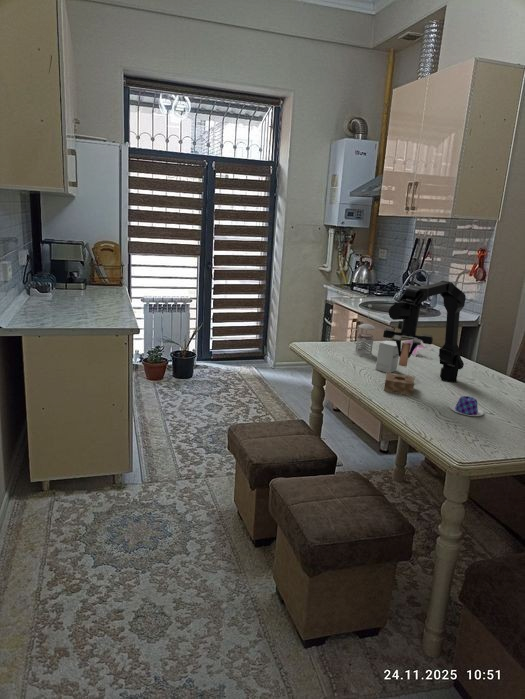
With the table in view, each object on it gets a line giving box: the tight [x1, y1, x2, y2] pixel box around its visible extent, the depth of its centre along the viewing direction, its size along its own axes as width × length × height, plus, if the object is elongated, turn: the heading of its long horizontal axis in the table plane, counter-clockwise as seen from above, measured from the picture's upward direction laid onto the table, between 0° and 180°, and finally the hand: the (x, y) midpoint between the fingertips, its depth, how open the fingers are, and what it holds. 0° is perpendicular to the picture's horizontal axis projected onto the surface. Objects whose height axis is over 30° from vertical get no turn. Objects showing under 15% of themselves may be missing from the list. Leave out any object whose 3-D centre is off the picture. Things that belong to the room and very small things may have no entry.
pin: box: [398, 342, 411, 367], centre depth 214 cm, size 3×3×9 cm
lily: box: [402, 339, 426, 357], centre depth 274 cm, size 12×12×10 cm
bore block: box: [383, 372, 415, 396], centre depth 216 cm, size 11×11×4 cm
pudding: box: [449, 395, 484, 417], centre depth 198 cm, size 12×12×5 cm
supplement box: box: [375, 340, 400, 374], centre depth 240 cm, size 7×7×13 cm
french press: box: [351, 304, 376, 358], centre depth 262 cm, size 10×12×25 cm
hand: (404, 357), depth 214 cm, fingers closed on pin, 3 cm apart
